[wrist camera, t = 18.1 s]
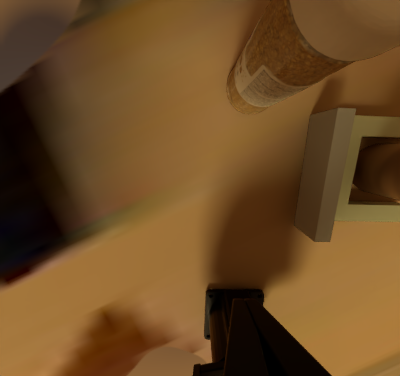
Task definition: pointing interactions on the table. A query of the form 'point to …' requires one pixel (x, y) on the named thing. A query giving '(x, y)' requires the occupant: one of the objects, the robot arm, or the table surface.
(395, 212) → the bracket
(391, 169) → the brown piece
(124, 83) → the table surface
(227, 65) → the table surface
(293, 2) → the sprinkles bottle
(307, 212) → the backstop wall
